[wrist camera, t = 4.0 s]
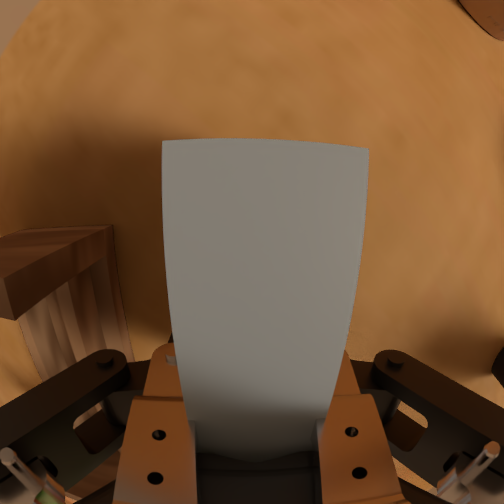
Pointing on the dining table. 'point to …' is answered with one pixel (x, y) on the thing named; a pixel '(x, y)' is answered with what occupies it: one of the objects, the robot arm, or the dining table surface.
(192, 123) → the dining table surface
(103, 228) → the wooden card holder
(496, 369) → the drinking cup
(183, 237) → the gray rectangular slab
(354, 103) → the dining table surface
